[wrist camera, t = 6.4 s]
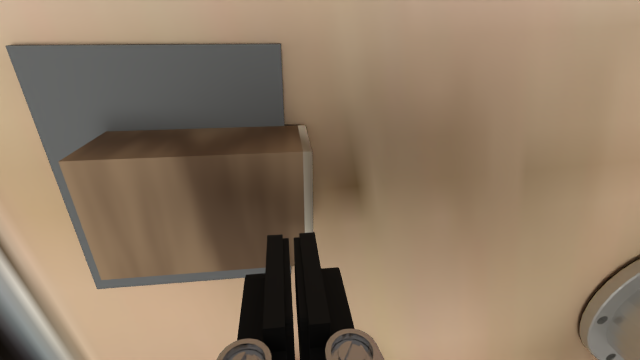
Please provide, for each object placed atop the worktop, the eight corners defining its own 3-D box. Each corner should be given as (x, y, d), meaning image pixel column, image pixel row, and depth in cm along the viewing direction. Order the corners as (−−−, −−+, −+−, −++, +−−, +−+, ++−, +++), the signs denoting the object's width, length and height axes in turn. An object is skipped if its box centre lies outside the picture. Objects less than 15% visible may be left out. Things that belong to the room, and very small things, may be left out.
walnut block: (312, 151, 14) (58, 161, 13) (313, 264, 17) (101, 280, 16) (305, 125, 18) (105, 131, 17) (307, 221, 20) (134, 231, 19)
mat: (280, 43, 16) (280, 44, 16) (291, 269, 22) (291, 273, 22) (11, 45, 15) (5, 45, 15) (100, 284, 21) (97, 289, 21)
